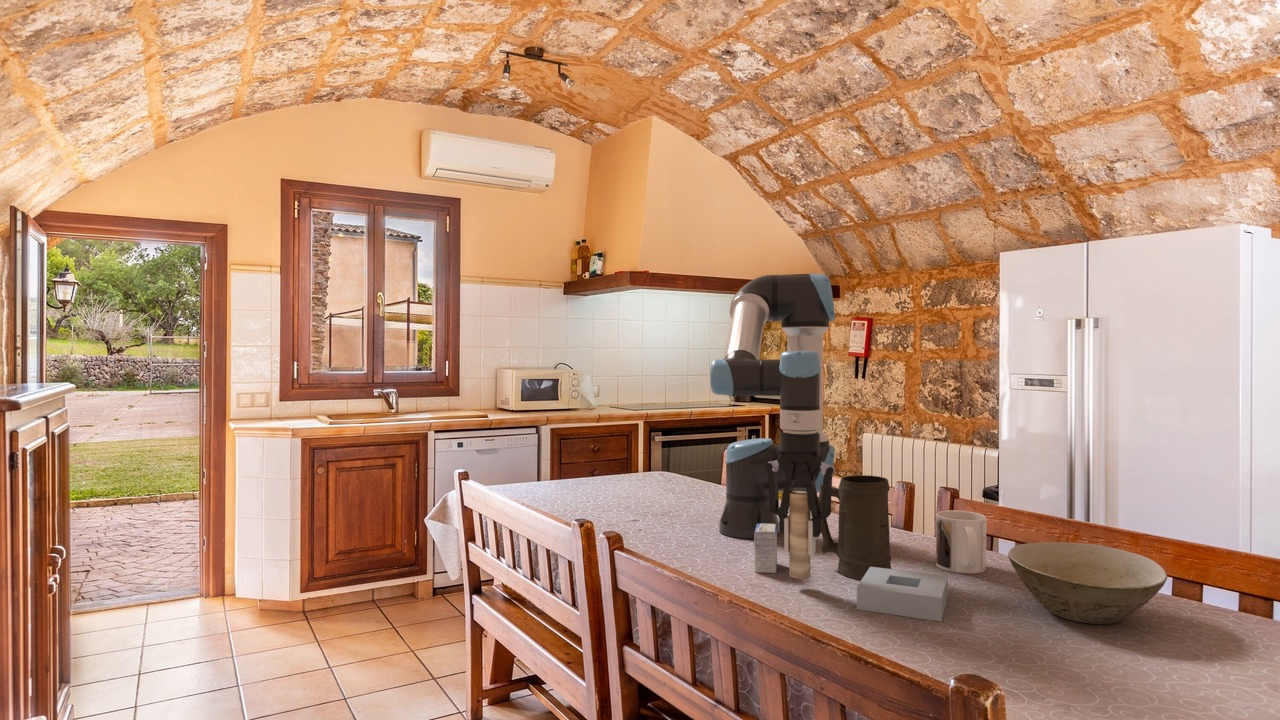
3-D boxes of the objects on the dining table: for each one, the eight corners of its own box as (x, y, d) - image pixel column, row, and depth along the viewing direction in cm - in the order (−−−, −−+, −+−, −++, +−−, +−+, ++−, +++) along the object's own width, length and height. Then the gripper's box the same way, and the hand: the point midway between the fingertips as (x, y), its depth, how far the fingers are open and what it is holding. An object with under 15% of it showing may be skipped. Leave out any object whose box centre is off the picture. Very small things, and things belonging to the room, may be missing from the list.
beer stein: (896, 568, 161) (889, 473, 161) (895, 582, 151) (888, 481, 151) (821, 566, 166) (815, 474, 166) (816, 580, 156) (809, 482, 156)
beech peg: (792, 571, 151) (792, 490, 150) (812, 573, 149) (812, 492, 149) (787, 577, 147) (786, 494, 147) (807, 579, 145) (807, 496, 145)
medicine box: (776, 574, 158) (776, 532, 157) (754, 573, 158) (754, 531, 158) (777, 563, 165) (777, 523, 165) (756, 562, 166) (756, 522, 166)
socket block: (870, 587, 149) (870, 566, 149) (947, 597, 143) (947, 575, 142) (856, 609, 136) (856, 586, 136) (941, 621, 130) (941, 597, 130)
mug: (996, 567, 162) (996, 515, 162) (975, 580, 153) (976, 524, 153) (946, 558, 169) (946, 508, 169) (924, 569, 160) (924, 517, 160)
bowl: (1171, 652, 117) (1171, 586, 116) (999, 623, 129) (1000, 564, 129) (1163, 607, 137) (1163, 551, 136) (1015, 586, 149) (1016, 534, 149)
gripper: (751, 431, 148) (751, 551, 148) (840, 435, 140) (840, 562, 141) (762, 426, 154) (762, 542, 155) (848, 431, 147) (848, 551, 148)
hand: (799, 551), depth 148 cm, fingers closed on beech peg, 4 cm apart
